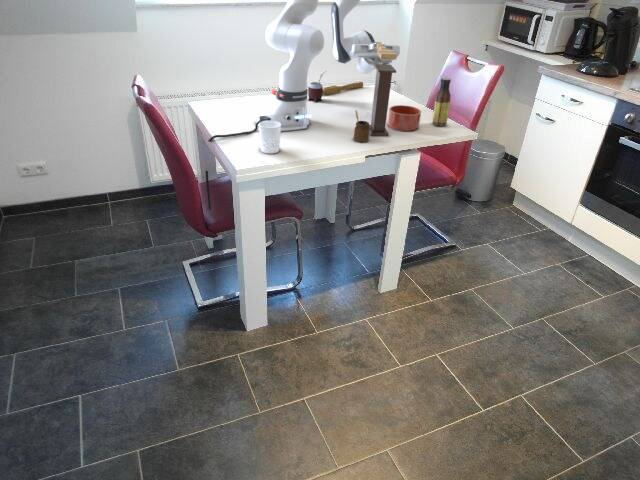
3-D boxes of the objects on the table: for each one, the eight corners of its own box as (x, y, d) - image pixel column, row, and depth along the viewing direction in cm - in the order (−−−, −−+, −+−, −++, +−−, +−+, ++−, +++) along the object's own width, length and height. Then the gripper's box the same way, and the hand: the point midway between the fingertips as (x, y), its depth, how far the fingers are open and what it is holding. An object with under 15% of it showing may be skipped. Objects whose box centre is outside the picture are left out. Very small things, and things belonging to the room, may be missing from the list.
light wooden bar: (370, 46, 200) (370, 41, 199) (384, 47, 201) (384, 41, 200) (380, 59, 182) (381, 53, 181) (396, 59, 183) (397, 54, 182)
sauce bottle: (447, 123, 215) (456, 78, 204) (444, 127, 210) (453, 81, 200) (433, 121, 217) (441, 75, 207) (429, 125, 212) (437, 78, 202)
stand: (366, 127, 206) (373, 63, 192) (382, 127, 207) (390, 64, 193) (371, 135, 198) (378, 70, 184) (387, 136, 198) (396, 70, 184)
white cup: (255, 151, 178) (255, 125, 172) (265, 144, 184) (264, 119, 178) (275, 155, 175) (275, 129, 170) (284, 148, 182) (284, 122, 176)
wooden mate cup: (370, 142, 192) (374, 112, 185) (355, 143, 190) (358, 113, 184) (365, 136, 196) (368, 107, 190) (350, 137, 195) (353, 108, 188)
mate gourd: (307, 98, 237) (308, 66, 229) (323, 98, 238) (324, 66, 230) (308, 102, 231) (309, 70, 223) (324, 103, 232) (326, 70, 224)
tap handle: (364, 82, 256) (321, 90, 239) (363, 87, 258) (321, 96, 241) (359, 80, 258) (317, 88, 241) (359, 86, 260) (317, 94, 242)
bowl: (402, 133, 202) (404, 117, 198) (381, 123, 211) (382, 107, 207) (425, 128, 209) (427, 112, 205) (403, 119, 218) (405, 103, 214)
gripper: (348, 47, 210) (354, 36, 196) (394, 49, 212) (403, 37, 198) (348, 62, 210) (354, 51, 196) (394, 63, 212) (403, 53, 198)
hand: (379, 44), depth 197 cm, fingers closed on light wooden bar, 2 cm apart
